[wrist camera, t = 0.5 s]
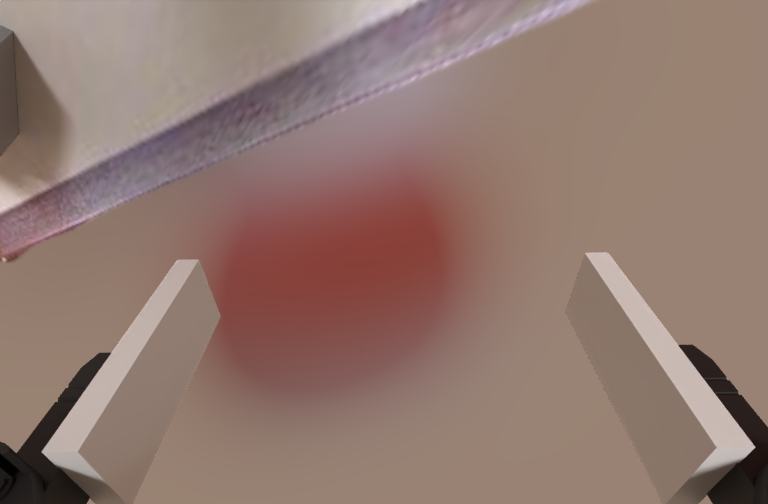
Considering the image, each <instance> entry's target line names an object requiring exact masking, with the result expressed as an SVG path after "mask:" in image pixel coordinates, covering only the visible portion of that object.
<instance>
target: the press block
mask: <svg viewBox="0 0 768 504" xmlns="http://www.w3.org/2000/svg"><path fill="white" fill-rule="evenodd" d="M18 134H19V132H18V113H17V95H16V77H15V59H14V40H13V31H11V30H8V29H6V28H4V27H2V26H0V156H1V155H2V154H3V153H4V152H5V150H6V149H7V148H8V147H9V145H10V144H11V143H12V142H13V141H14V139H15V138H16V137H17V136H18Z"/></svg>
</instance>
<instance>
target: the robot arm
mask: <svg viewBox="0 0 768 504" xmlns="http://www.w3.org/2000/svg"><path fill="white" fill-rule="evenodd" d="M565 313H566V315H567V317H568V319H569V320H570V323H571V325H572V327H573V328H574V331H575V332H576V335H577V337H578V338H579V340H580V342H581V344H582V346H583V348H584V350H585V352H586V354H587V356H588V358H589V360H590V362H591V364H592V366H593V368H594V370H595V372H596V374H597V376H598V378H599V380H600V382H601V384H602V385H603V387H604V390H605V392H606V394H607V395H608V398H609V400H610V401H611V403H612V405H613V407H614V409H615V411H616V413H617V415H618V417H619V419H620V421H621V423H622V425H623V427H624V429H625V431H626V433H627V435H628V437H629V439H630V441H631V443H632V445H633V447H634V449H635V451H636V453H637V455H638V456H639V459H640V461H641V462H642V464H643V467H644V468H645V470H646V472H647V474H648V476H649V478H650V480H651V482H652V484H653V486H654V488H655V490H656V492H657V494H658V496H659V498H660V500H661V502H662V504H698V503H699V502H700V501H701V500H702V499H703V498H704V497H706V495H708V497H709V498H710V500H711V501H712V503H713V504H768V427H767V426H766V425H765V423H764V422H763V421H762V420H761V419H760V417H759V416H758V415H757V414H756V412H755V411H754V410H753V409H752V408H751V406H750V405H749V404H748V403H747V402H746V401H745V399H744V398H743V397H742V395H739V394H738V390H737V389H736V388H735V387H734V385H733V384H732V383H731V382H730V381H728V380H727V379H726V376H725V375H724V373H723V372H722V371H721V370H720V368H719V367H718V366H717V365H716V363H715V362H714V361H713V360H712V359H711V358H709V357H708V356H707V355H705V354H704V353H703V352H702V351H700V350H699V349H698V348H696V347H695V346H693V345H678V344H676V342H675V341H674V339H673V338H672V337H671V335H670V334H669V333H668V331H667V330H666V329H665V327H664V326H663V325H662V323H661V322H660V321H659V320H658V318H657V317H656V315H655V314H654V313H653V312H652V310H651V309H650V308H649V306H648V305H647V304H646V302H645V301H644V300H643V298H642V297H641V296H640V294H639V293H638V292H637V291H636V289H635V288H634V287H633V285H632V284H631V283H630V281H629V280H628V279H627V277H626V276H625V275H624V273H623V272H622V271H621V270H620V268H619V267H618V265H617V264H616V263H615V261H614V260H613V259H612V257H611V256H610V255H609V254H608V253H585V254H584V257H583V260H582V263H581V266H580V269H579V272H578V275H577V277H576V281H575V283H574V286H573V290H572V292H571V295H570V298H569V301H568V304H567V307H566V310H565ZM219 319H220V314H219V311H218V308H217V305H216V303H215V300H214V297H213V295H212V292H211V290H210V287H209V284H208V282H207V279H206V276H205V274H204V271H203V269H202V266H201V263H200V260H199V259H197V260H177V261H176V262H175V264H174V265H173V267H172V268H171V269H170V271H169V272H168V274H167V275H166V276H165V278H164V279H163V281H162V282H161V283H160V285H159V286H158V288H157V289H156V291H155V292H154V294H153V295H152V296H151V298H150V299H149V300H148V302H147V303H146V305H145V306H144V308H143V309H142V310H141V312H140V313H139V315H138V316H137V318H136V319H135V320H134V322H133V323H132V325H131V326H130V327H129V329H128V330H127V332H126V333H125V335H124V336H123V338H122V339H121V340H120V342H119V343H118V345H117V346H116V347H115V349H114V350H113V352H112V353H99V354H97V355H96V356H95V357H94V358H93V359H91V360H90V361H89V362H88V363H86V364H85V365H84V366H83V367H82V368H81V369H80V370H79V372H78V373H77V374H76V375H75V377H74V378H73V379H72V381H71V382H70V383H69V387H68V388H66V389H65V390H64V391H63V393H62V394H61V395H60V397H59V398H58V402H55V403H54V405H53V406H52V407H51V409H50V410H49V411H48V413H47V414H46V415H45V416H44V418H43V419H42V421H41V422H40V423H39V424H38V426H37V427H36V429H35V430H34V431H33V433H32V434H31V435H30V436H29V438H28V439H27V440H26V442H25V443H24V444H23V446H22V447H21V449H20V450H19V451H18V452H17V454H16V453H15V452H14V451H13V450H12V449H11V448H10V447H9V446H7V445H6V444H5V443H2V442H0V504H86V503H87V502H88V500H89V498H90V499H91V500H92V501H93V502H94V503H95V504H133V502H134V500H135V498H136V496H137V493H138V491H139V489H140V487H141V485H142V483H143V481H144V479H145V477H146V474H147V472H148V470H149V468H150V466H151V464H152V462H153V459H154V457H155V455H156V453H157V451H158V449H159V447H160V444H161V442H162V440H163V438H164V436H165V434H166V432H167V430H168V427H169V425H170V423H171V421H172V419H173V417H174V415H175V413H176V411H177V408H178V406H179V404H180V402H181V400H182V398H183V395H184V394H185V391H186V389H187V387H188V385H189V383H190V381H191V379H192V376H193V374H194V372H195V370H196V368H197V366H198V364H199V362H200V360H201V357H202V355H203V353H204V351H205V349H206V347H207V345H208V342H209V340H210V338H211V336H212V334H213V332H214V330H215V328H216V325H217V323H218V321H219Z"/></svg>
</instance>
